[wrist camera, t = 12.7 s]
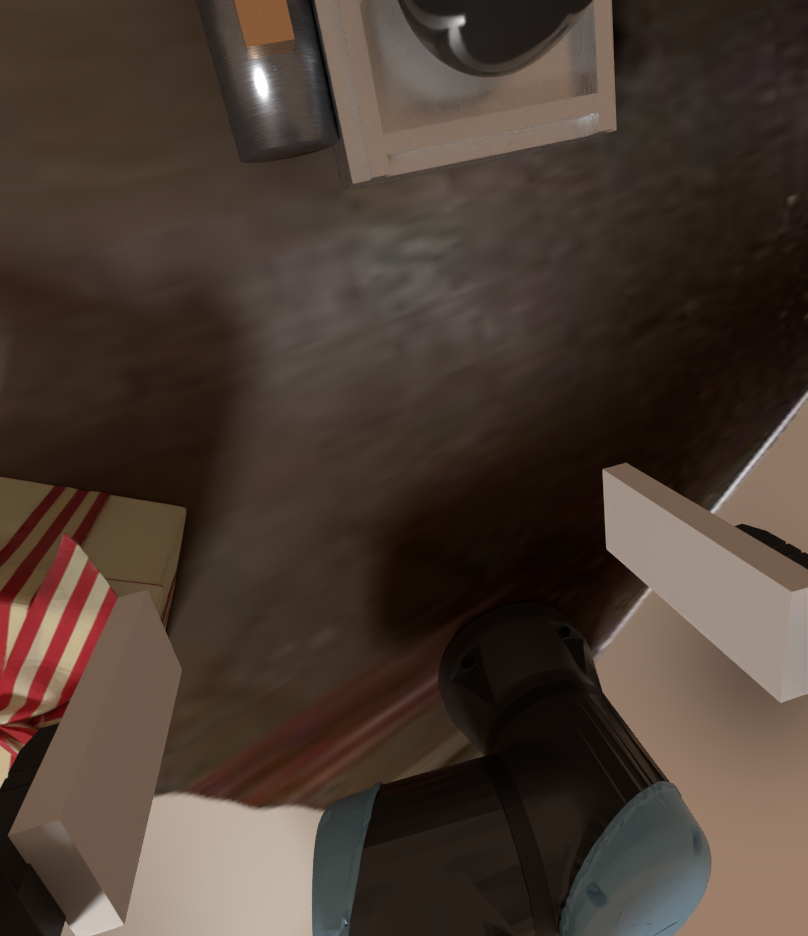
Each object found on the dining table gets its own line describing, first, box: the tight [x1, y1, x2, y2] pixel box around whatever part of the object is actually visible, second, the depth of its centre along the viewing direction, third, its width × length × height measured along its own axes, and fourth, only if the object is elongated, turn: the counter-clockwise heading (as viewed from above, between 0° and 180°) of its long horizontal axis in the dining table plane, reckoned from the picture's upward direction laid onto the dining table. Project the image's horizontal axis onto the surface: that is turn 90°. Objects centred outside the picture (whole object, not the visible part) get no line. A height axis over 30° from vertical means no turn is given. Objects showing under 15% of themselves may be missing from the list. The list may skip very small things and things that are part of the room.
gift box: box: [0, 476, 186, 788], centre depth 35 cm, size 17×18×17 cm
